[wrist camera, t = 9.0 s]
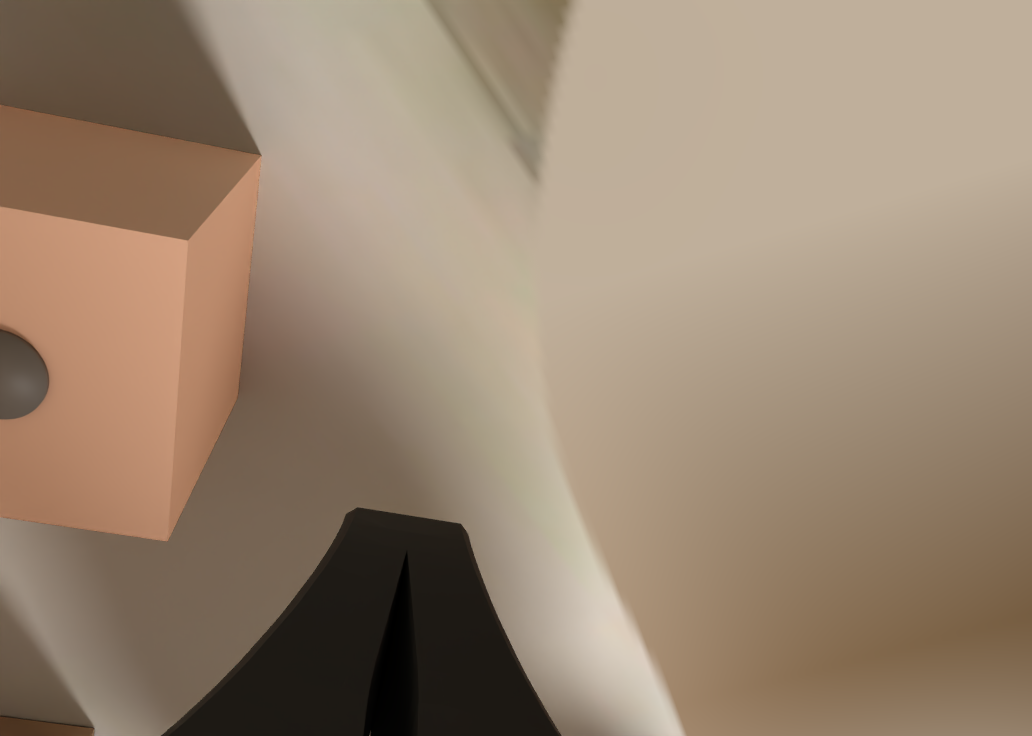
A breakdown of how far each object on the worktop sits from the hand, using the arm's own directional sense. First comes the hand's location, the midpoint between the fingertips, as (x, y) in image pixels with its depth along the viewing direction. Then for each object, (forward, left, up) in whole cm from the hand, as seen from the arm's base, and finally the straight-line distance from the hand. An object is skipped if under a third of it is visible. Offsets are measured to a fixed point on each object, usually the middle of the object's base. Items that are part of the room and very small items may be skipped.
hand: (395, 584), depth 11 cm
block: (+6, 0, -8) cm, 10 cm away
